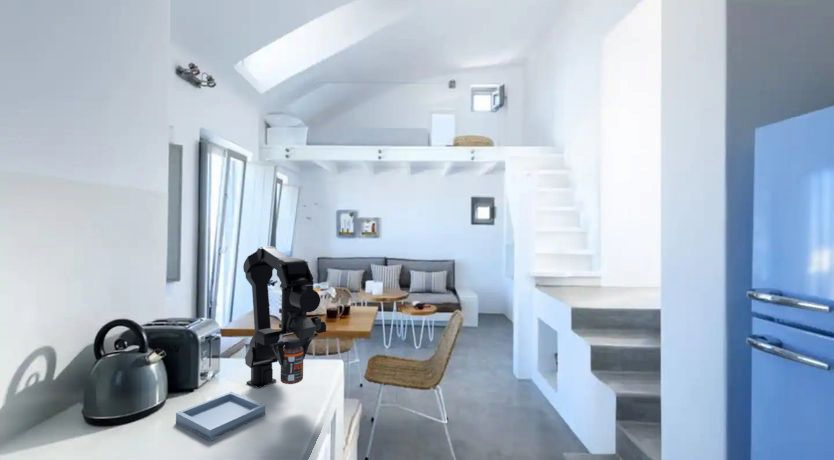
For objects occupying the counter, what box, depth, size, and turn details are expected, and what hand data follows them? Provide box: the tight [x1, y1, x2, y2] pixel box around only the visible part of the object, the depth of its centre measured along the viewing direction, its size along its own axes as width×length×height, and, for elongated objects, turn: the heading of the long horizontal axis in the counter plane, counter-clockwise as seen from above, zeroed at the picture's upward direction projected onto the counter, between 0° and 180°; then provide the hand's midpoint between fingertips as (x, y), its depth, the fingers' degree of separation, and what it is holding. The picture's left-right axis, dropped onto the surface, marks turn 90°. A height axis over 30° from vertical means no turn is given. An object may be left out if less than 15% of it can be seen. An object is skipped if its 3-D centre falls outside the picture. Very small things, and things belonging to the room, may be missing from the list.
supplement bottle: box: [280, 337, 304, 385], centre depth 108 cm, size 6×6×11 cm
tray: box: [175, 391, 266, 442], centre depth 102 cm, size 15×15×2 cm
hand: (292, 362), depth 108 cm, fingers closed on supplement bottle, 6 cm apart
